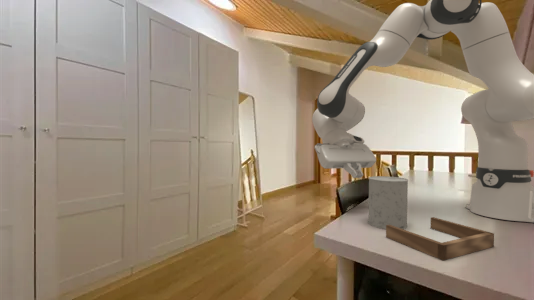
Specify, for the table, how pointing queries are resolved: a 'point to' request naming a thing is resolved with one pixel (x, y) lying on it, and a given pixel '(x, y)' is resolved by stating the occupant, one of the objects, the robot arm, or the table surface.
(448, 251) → the walnut corral
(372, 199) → the grey speckled cylinder
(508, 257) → the table surface
